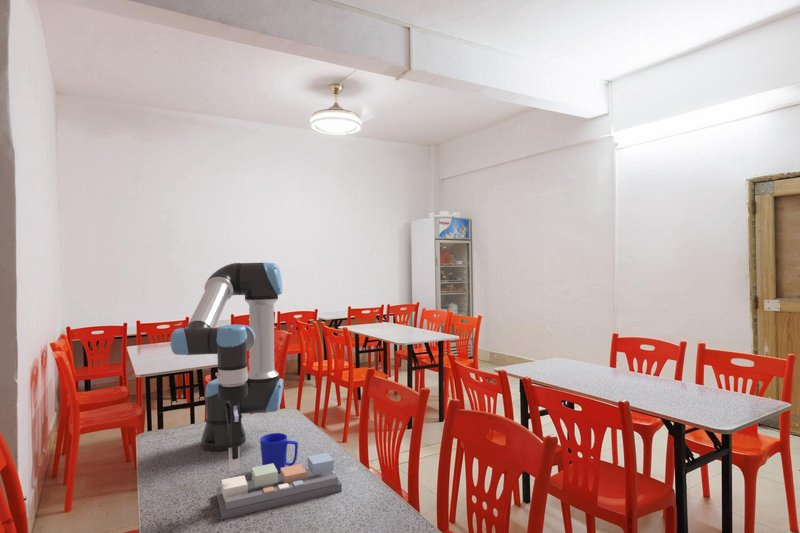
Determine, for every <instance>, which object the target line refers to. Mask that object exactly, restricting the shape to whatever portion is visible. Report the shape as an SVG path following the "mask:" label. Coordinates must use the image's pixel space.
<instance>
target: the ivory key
mask: <svg viewBox="0 0 800 533" xmlns="http://www.w3.org/2000/svg"><path fill="white" fill-rule="evenodd" d="M247 481H248V480H247V479H246V476H245V475H239V476H234V477H229V478H224V479H221V487H222V494H223V498H224V501H225V498H228V497H232V496H237V495H241V494H246V493H248V484H247Z"/></svg>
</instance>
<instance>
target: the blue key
mask: <svg viewBox="0 0 800 533" xmlns="http://www.w3.org/2000/svg"><path fill="white" fill-rule="evenodd" d="M334 466H335V464H334V459H333V457H332V456H331V455H330V454H329V453H328V452H324V453H319V454H314V455H308V456H307V467H308V468H307V469H310V471H311V472H312V473H313V475H315V474H319V473H324V472H329V471H332V472H333V471H334Z"/></svg>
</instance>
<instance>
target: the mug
mask: <svg viewBox="0 0 800 533" xmlns="http://www.w3.org/2000/svg"><path fill="white" fill-rule="evenodd" d="M259 442H260V453H261V466H262V465H267V464H272V463H273V464H274V465H275V467H276V469H277V471H278V473H280V472H281V470H280V468H283V467H287V466H292V465H295V463H296V461H297V458H298V451H299V442H298V441H295V440H288V436H287V434H285V433H281V432H273V433H269V434H265V435H263V436H261V437H260V440H259ZM290 444H291V445H294V456H293V460H292V462H288V461H287V453H288V451H287V450H288V445H290Z"/></svg>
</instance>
